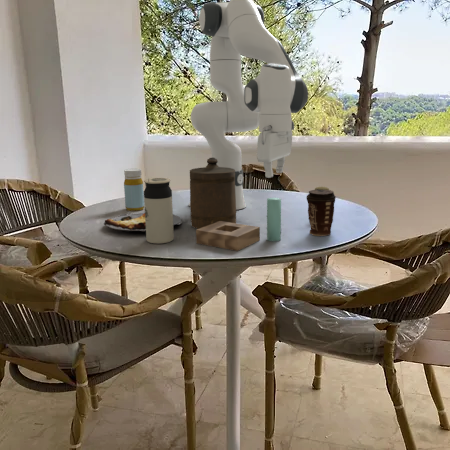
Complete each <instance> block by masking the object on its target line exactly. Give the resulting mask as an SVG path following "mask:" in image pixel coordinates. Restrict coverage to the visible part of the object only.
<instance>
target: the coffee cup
mask: <svg viewBox="0 0 450 450" xmlns="http://www.w3.org/2000/svg"><path fill="white" fill-rule="evenodd" d="M336 198H337V197H336V194H335V192H334V191H333V190H331V189H329V190H325V189H324V190H321V189H319V190H317V189H316V190H315V189H312V190H309V191H308V194H306V201H307V205H308V207H307V214H308V215H307V217H308V221H309V226H310V230H309V234H310V235H311V234H312V236H314V237H325V236H330V235H331V234H332V231H331V230H332V225H333V222H334V216H335V215H334V214H335V202H336Z"/></svg>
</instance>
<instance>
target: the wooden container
mask: <svg viewBox="0 0 450 450" xmlns="http://www.w3.org/2000/svg"><path fill="white" fill-rule="evenodd" d="M217 162H218V160H217V159H215V158H212V157H209V158H207V160H206V163H207V165H205V166H203V167H196V168H191V169H190V170H189V199H190V200H189V203H190V206H189V207H190V209H189V210H190V226H191V227H192V228H193V229H195V230H197V229H200V228H202V227H205V226H208V225H210V224H213V223H216V222H218V221H223V222H230V223H236V224H237V210H236V194H235V170H234V169H232V168H225V167H219V166H218V165H217V164H216V163H217Z"/></svg>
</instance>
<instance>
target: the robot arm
mask: <svg viewBox="0 0 450 450" xmlns="http://www.w3.org/2000/svg"><path fill="white" fill-rule="evenodd" d="M198 24H199V27H200V30H201V32H202V34H203V35H204V36H207V37H211V41H210V49H209V75H210V77H209V78H210V79H209V80H210V84H211V87H213V88H214V89H216V90H217V91H219V92H221V93H223V94H224V95H226V96H227V100H226V101H205V102H201V103H196V104H195V105H194V106H193V107H192V109H191V112H190V123H191V125H192V126H193V129H195V130H196V131H197V132H198V133H200V134H201V135H202V136H203V137H204V139H205V140H206V142H207V143H208V146H209V148H210V154H211V158H215V159H217V160H218V162H217V163H216V164H217V165H218V166H219V167H225V168H232V169H234V170H235V194H236V211H237V210H242V209H244V208H246V207H247V205H246V201H245V197H244V190H243V189H244V188H243V183H244V170H243V168H242V167H243V166H242V165H243V164H242V163H243V161H242V156H243V155H242V148H241V147H240V146H239V144H237V143H235V142H233V141H231V140H228V138H226V136H225V134H226V133H246V132H249V131H254V130H256V129H258V132H260V133H259V134H258V137H257V147H256V159H257V162H259V163H263V168H264V173H265V178H268V179H270V178H273V177H274V170H273V162H274V161H277V162H276V166H275V173H277V174H282V173H283V172H284V166H285V163H286V162H285V161H286V157H288V156H290V155H291V151H292V145H293V131H294V130H295V122H294V121H293V120H292V119H293V118H292V114H298V113H299V112H300V111H301V110H303V108H304V107H305V106H306V105H307V103H308V101H309V100H308V99H309V89H308V86H307V85H306V83H305V81H304V80H303V79H302V77H301V76H300V75H299V73H298V72H297V70H296V68H295V67H294V65H293V63H292V60H291V59H290V57H289V55H288V53H287V51H286V50H285V47H284V46H283V44H282V43H281V41H280V40H279V39H278V38H277V37H275V36H273V35H272V34H271V32H269V31H268V29H267V28H266V26H265V14H264V10H263V8H262V7H261V6H260V5H259V4H256V3H255V2H254V1H253V0H230V1H222V2H221V1H220V2H215V1H211V2H207V3H204V4H203V6H201V8H200V11H199V15H198ZM242 56H243V57H247V58H250V59H255V60H258V61H261V62H264V63H265V64H263V65H261V66H260V70H259V74H258V75H257V76H256V77H255V78H253V79H250V80H249V81H248V82H247V83H246V85H245V86H244V84H243V78H242V77H243V76H242V60H241V59H242ZM188 207H190V202H189V203H188Z"/></svg>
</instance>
